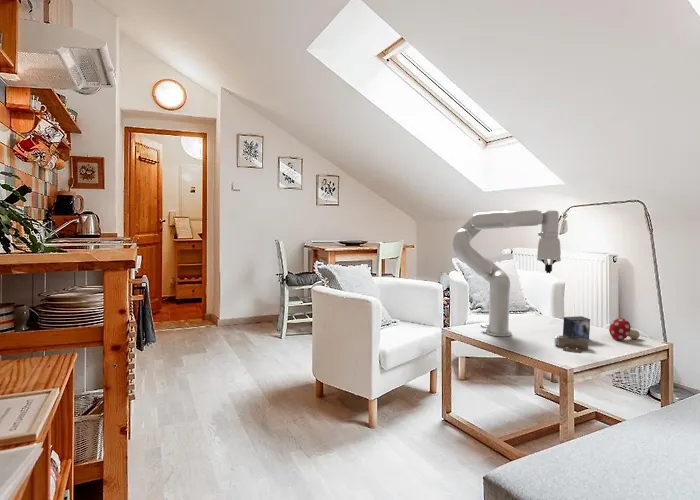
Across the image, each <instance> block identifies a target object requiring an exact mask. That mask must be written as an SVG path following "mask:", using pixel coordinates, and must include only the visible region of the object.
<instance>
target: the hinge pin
mask: <svg viewBox="0 0 700 500" xmlns="http://www.w3.org/2000/svg"><path fill="white" fill-rule="evenodd" d="M558 339H559V336H557V335H555V336H554V346H558Z"/></svg>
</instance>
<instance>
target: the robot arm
mask: <svg viewBox="0 0 700 500" xmlns="http://www.w3.org/2000/svg"><path fill="white" fill-rule="evenodd" d="M559 213H560V212H559V211H558V210H553V209H552V210H544V211H542V210H537V209H530V210H518V211H517V210H516V211H511V210H510V211H509V210H501V211H488V212H487V211H486V212H476V213H474V214H473V215H472V216H471V217H470V218H469V219H468V220H467V221H466V222H465V223H464V224H463V225H462V226H461V227H460V228H459V229H458V230H457V231H456V232H455V233H454V236H453V240H452V247H453V252H454V253H455V255H456V257H458V259H460V260H461V261H462V262H463V263H464V264H465V265H466V266H467V267H469V268H470V269H471V270H472V272H474V273H475V274H476V275H477V276H479V277H481V278H482V279H483V280H485V281H486V282H488V284H489V308H488V309H489V310H488V311H489V313H488V323H480V328H482V329H485V334H487V335H489V336H494V337H509V336H510V337H511V336H512V331H511V330H509V328H510V327H509V324H510V323H509V320H510V316H509V315H510V291H511V290H510V288H511V280H510V278H509V276H508V274H507V273H506V272H505V271H503V270H502V269H501V268H500V267H499V266H498V265H497V264H496V263H494V262H493V261H492V260H490V259H489V258H488V257H485V256H483V255H482V254H480V253H479V252H478V251H477V250H476V249H475V248H473V246H472V245H471V241H472V240H473V238H475V237H476V236H477V235H478V234H479V233H480V232H481V231H482V230H492V229H494V230H495V229H508V228H518V227H533V226H534V227H535V226H540V225H541V232H538V234H537V237H540V238H539V239H538V244H537V258H536V259H537V261H539V262H542V263H543V264H544V272H545V273H546V274H551V272H553V265H554V264H555V263H557V262H558V263H559V262H562V257H561V241H560V238H559V221H560V220H559V217H560V216H559V215H560V214H559ZM548 260H549V263H548Z"/></svg>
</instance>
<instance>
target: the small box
mask: <svg viewBox="0 0 700 500" xmlns="http://www.w3.org/2000/svg"><path fill="white" fill-rule="evenodd" d="M562 325H563V326H562V336H571V337H579V338H585V339H588V341H590V334H591V333H590V332H591V331H590V330H591V328H590V327H591V319H590V318H588V317H584V316H581V315H579V316H564V317H563V324H562Z"/></svg>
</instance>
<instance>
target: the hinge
mask: <svg viewBox="0 0 700 500" xmlns="http://www.w3.org/2000/svg"><path fill="white" fill-rule="evenodd" d="M557 346H558V348H563V349H562V351H565V352H572V353H577V354H581V353H582V351H588V350H589V340H588V339H585V338H579V337H571V336H563V335H559V336H558V345H557Z"/></svg>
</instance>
